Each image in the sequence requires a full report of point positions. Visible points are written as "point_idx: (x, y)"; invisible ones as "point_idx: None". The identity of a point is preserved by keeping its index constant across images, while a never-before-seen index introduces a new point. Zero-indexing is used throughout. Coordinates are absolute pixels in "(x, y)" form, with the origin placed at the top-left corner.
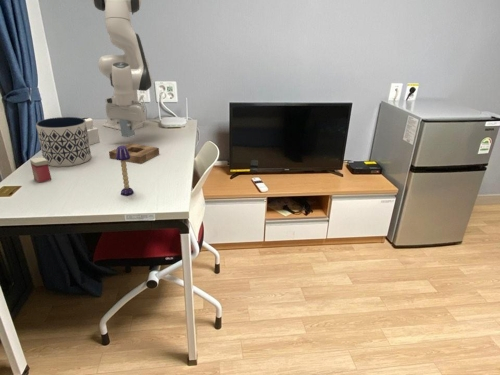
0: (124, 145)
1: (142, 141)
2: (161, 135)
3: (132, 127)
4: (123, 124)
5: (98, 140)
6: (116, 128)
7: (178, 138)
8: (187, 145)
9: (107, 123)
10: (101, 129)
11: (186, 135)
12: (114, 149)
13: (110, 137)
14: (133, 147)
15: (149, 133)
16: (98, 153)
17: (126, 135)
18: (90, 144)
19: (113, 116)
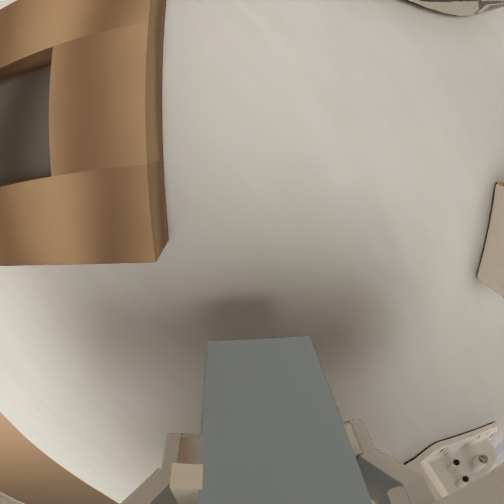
0: (140, 168)
1: None
2: None
3: (164, 461)
4: (287, 471)
5: (485, 272)
6: (452, 440)
7: (115, 476)
8: (8, 412)
9: (487, 438)
10: (498, 400)
11: None
12: (146, 12)
13: (449, 366)
14: (42, 178)
15: None
16: (339, 30)
17: (237, 351)
18: (495, 194)
19: (497, 497)
